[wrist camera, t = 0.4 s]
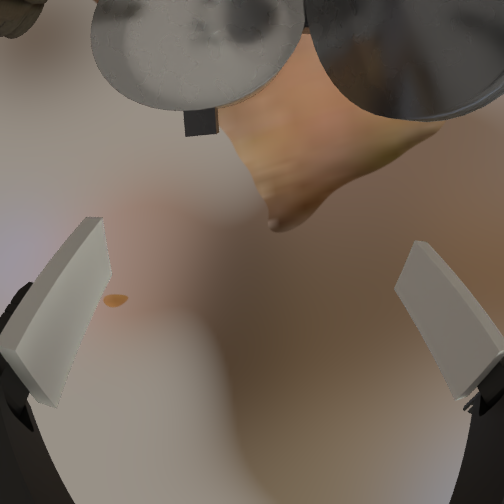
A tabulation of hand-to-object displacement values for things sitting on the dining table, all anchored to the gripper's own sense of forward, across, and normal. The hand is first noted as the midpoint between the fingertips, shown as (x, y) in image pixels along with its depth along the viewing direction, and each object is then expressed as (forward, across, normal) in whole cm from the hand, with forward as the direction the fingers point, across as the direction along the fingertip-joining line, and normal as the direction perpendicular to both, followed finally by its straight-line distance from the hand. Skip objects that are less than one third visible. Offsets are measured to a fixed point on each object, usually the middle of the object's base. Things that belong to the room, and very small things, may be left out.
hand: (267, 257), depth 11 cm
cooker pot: (+29, -6, +13) cm, 33 cm away
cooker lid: (+6, +5, +16) cm, 18 cm away
